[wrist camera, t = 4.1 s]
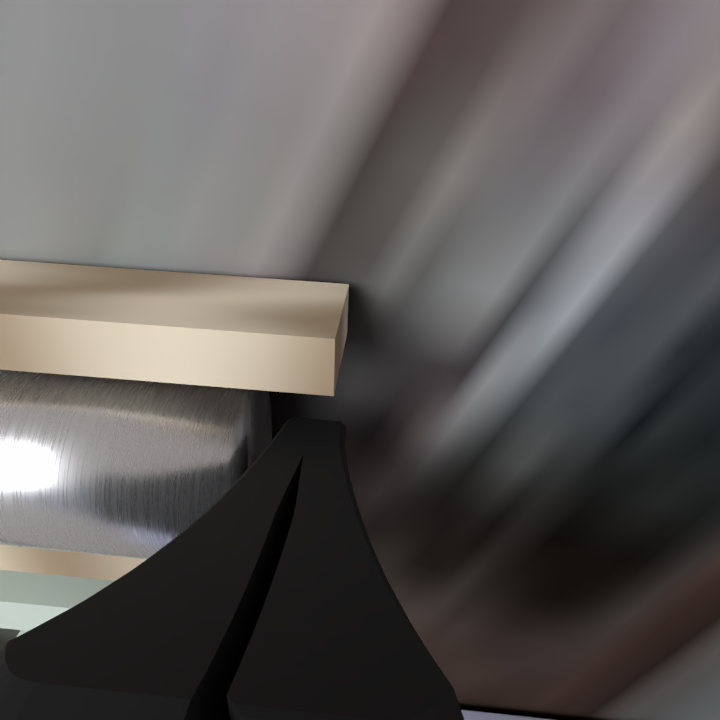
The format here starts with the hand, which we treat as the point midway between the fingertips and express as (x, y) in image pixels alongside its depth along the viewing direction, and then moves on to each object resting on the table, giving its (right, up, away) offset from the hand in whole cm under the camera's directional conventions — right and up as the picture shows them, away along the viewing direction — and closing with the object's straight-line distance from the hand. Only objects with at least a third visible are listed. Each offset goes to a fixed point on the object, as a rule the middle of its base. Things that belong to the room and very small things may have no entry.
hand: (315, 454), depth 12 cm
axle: (-6, 0, 0) cm, 6 cm away
